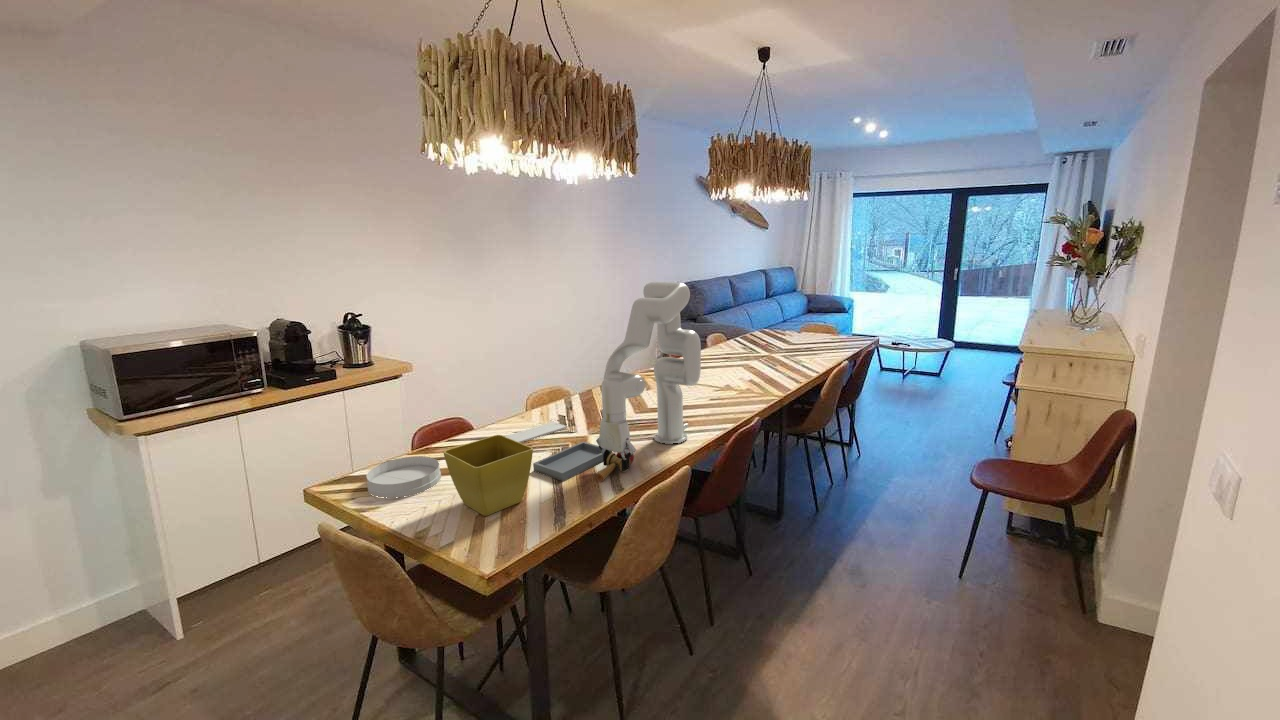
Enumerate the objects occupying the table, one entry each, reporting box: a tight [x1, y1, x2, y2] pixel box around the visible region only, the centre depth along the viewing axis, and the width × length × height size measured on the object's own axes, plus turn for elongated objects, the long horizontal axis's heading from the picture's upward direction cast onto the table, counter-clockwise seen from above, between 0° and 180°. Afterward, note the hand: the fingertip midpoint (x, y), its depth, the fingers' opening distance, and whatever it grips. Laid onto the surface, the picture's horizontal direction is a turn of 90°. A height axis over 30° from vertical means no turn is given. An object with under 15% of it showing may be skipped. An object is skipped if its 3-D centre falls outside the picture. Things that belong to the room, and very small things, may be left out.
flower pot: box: [442, 434, 534, 517], centre depth 164 cm, size 19×19×17 cm
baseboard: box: [505, 419, 568, 443], centre depth 221 cm, size 31×3×12 cm
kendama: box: [595, 449, 635, 483], centre depth 184 cm, size 8×6×18 cm
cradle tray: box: [532, 441, 613, 482], centre depth 191 cm, size 24×14×3 cm, turn 142°
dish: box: [366, 455, 442, 499], centre depth 180 cm, size 22×22×5 cm
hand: (616, 466), depth 185 cm, fingers closed on kendama, 7 cm apart
